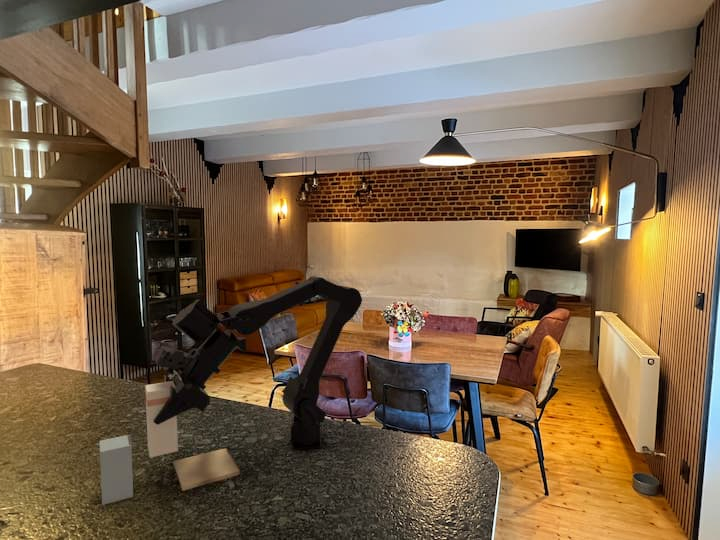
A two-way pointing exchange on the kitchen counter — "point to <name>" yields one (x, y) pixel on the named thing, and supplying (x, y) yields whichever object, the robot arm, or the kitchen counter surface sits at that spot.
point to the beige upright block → (164, 433)
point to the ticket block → (116, 469)
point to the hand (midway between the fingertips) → (153, 418)
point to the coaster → (205, 468)
